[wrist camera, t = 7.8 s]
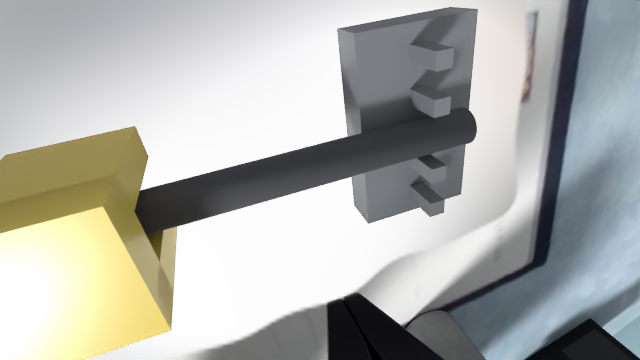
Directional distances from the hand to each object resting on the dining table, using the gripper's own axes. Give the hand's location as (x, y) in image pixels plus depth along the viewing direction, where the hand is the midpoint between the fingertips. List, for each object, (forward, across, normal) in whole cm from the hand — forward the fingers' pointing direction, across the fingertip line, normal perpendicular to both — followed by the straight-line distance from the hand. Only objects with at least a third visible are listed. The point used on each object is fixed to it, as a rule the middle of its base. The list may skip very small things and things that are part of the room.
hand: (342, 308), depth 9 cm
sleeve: (+11, +8, 0) cm, 13 cm away
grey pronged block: (+11, -7, 0) cm, 13 cm away
